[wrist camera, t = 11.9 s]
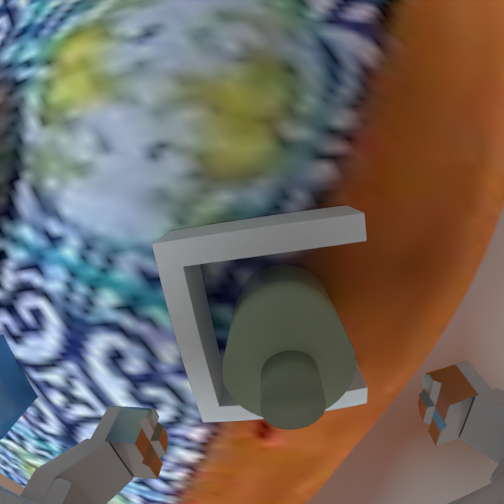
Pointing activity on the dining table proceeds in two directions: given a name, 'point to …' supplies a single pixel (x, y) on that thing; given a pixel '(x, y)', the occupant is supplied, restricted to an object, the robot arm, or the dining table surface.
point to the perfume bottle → (12, 389)
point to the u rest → (230, 248)
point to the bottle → (287, 348)
